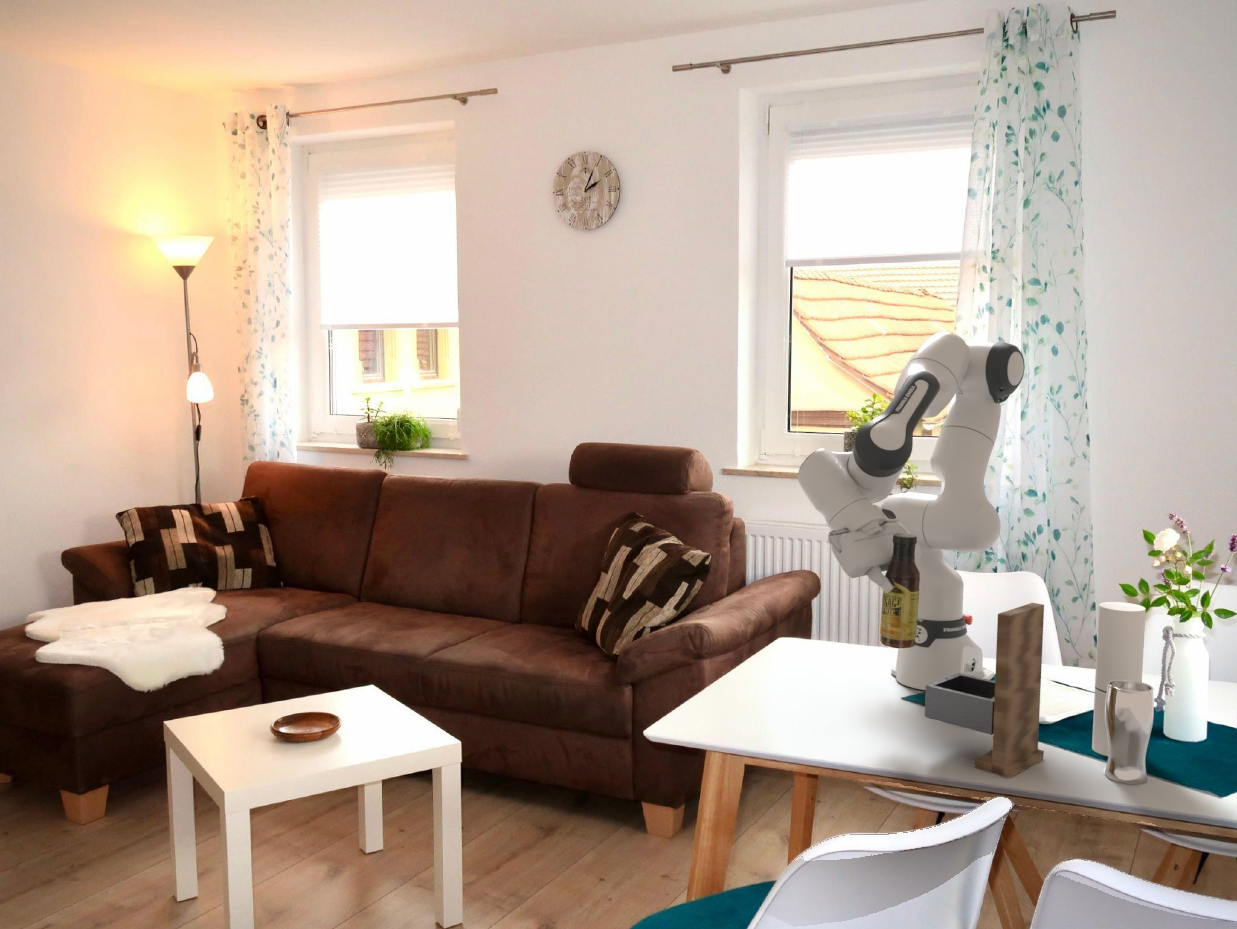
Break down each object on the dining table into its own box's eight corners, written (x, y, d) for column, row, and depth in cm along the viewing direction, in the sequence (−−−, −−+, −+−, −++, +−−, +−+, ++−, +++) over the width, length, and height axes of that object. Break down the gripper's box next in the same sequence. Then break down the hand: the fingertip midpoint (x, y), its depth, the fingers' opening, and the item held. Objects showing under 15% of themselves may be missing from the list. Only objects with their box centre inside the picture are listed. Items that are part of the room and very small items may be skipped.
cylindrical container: (1135, 761, 178) (1143, 613, 176) (1088, 753, 182) (1095, 607, 179) (1140, 748, 184) (1148, 605, 182) (1095, 740, 188) (1102, 600, 185)
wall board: (1008, 750, 183) (1015, 599, 180) (1043, 759, 178) (1050, 605, 176) (974, 767, 175) (980, 610, 172) (1009, 778, 170) (1016, 617, 168)
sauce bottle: (872, 642, 192) (876, 532, 190) (901, 640, 194) (905, 531, 193) (895, 651, 186) (899, 537, 184) (924, 648, 188) (929, 536, 187)
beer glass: (1155, 787, 167) (1160, 693, 165) (1107, 783, 168) (1112, 690, 167) (1143, 771, 174) (1147, 680, 172) (1097, 767, 175) (1101, 677, 174)
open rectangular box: (957, 703, 189) (958, 672, 188) (1026, 720, 180) (1027, 688, 179) (924, 717, 181) (925, 685, 181) (994, 735, 172) (995, 702, 172)
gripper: (834, 521, 186) (881, 585, 180) (900, 510, 200) (945, 569, 194) (813, 543, 190) (858, 607, 184) (878, 531, 204) (923, 590, 197)
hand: (903, 587), depth 189 cm, fingers closed on sauce bottle, 6 cm apart
